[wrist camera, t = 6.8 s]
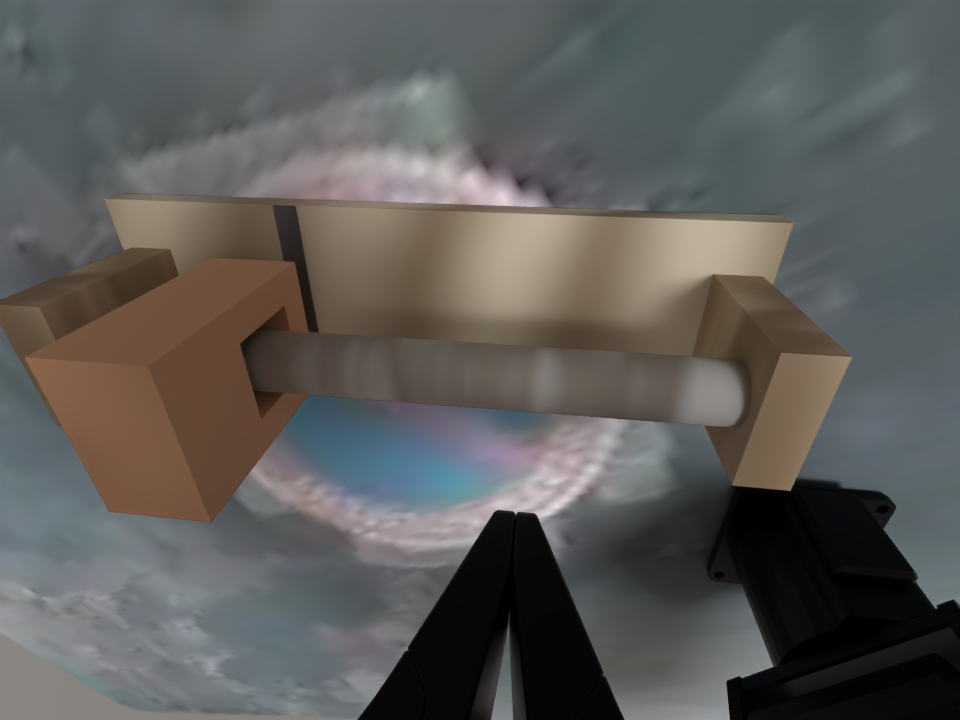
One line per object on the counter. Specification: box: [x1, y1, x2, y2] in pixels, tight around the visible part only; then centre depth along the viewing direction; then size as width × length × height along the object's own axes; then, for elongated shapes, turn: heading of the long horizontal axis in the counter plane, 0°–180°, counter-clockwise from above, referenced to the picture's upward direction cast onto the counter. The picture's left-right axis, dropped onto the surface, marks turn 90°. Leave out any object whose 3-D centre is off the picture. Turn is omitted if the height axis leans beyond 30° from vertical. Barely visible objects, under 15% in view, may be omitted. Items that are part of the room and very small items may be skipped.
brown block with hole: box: [24, 258, 308, 523], centre depth 15 cm, size 3×5×7 cm, turn 0°
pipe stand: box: [0, 194, 852, 491], centre depth 16 cm, size 24×8×6 cm, turn 90°
